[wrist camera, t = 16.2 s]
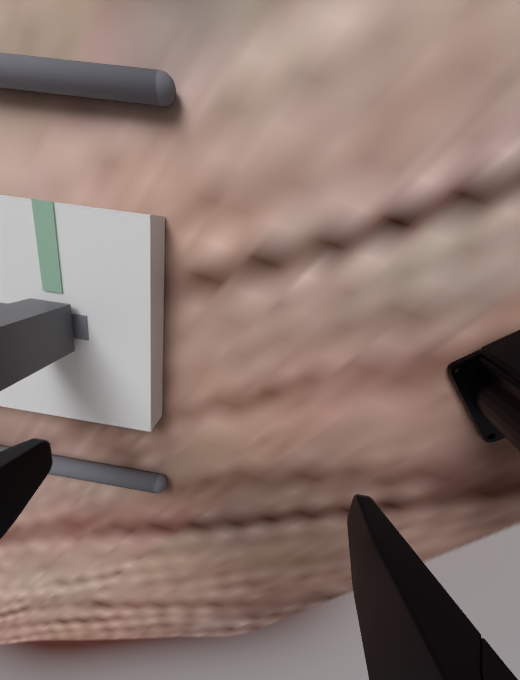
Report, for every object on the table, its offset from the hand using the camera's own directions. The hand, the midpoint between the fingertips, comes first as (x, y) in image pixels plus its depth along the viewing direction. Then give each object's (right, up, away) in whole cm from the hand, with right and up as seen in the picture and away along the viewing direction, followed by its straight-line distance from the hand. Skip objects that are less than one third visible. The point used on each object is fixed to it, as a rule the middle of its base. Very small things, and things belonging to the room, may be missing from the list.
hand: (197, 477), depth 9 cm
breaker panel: (-15, +6, +12) cm, 20 cm away
